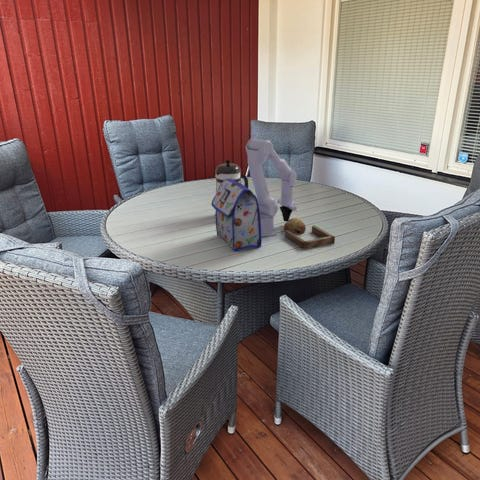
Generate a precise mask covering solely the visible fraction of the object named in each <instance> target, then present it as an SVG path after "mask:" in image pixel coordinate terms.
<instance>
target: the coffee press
mask: <svg viewBox="0 0 480 480" xmlns="http://www.w3.org/2000/svg"><path fill="white" fill-rule="evenodd" d="M241 173H242V169H241V167H240V166H239V165H238V164H236V163H232V162H231V159H226V160H225V163H221V164H219V165H217V166H216V168H215V174H214V175H215V176H214V177H215V189H216V193H217V191H218V189H219V186H220V184H221V183H222V181H224V180H225V179H233V180H234V181H235V182H239V183H241V184H242V180H241V179H243V181H244V186H245V187H246V188H248V189H249V179H248V176H247V175H245V174H241ZM216 193H215V194H216ZM214 216H215V217H216V212H215V213H214Z"/></svg>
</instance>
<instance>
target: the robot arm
mask: <svg viewBox="0 0 480 480" xmlns="http://www.w3.org/2000/svg"><path fill="white" fill-rule="evenodd" d="M245 151H246V152H245V153H246V155H247V166H248V170H249V174H250V176H251V177H250V178H251V181H252V183H253V187H254V191H255V194H256V195H255V196H256V198H257V201H258V205H259V210H260V220H261V238H264V237H265V238H266V237H270V236H276V235H277V234H278V233H277V232H276V231H274V221H275V220H274V219H275V218H274V217H275V216H276V215H277V213H278V211H279V209H280V212H281V215H282V219H283V221H284V222H287V221H288V220H290V217H291V214H292V212H295V211H297V206H296V205H295V201H294V188H295V187H294V186H295V185H296V181H297V176H298V174H297V172H296V171H295V170H294V169H291V168H292V167H291V166H290V165H289V164H288V163H287V161H286V159H284V158H280V156H279V155H278V154H277V152H276V151H275V149H274V144H273V143H272V142H271V141H270V140H269V139H268V140H267V139H259V138H254V137H252V138H250V139H248V141H247V143H246V145H245ZM267 159H269V161H270V162H271V163H272V164H273V166H272V167H273V169H274V171H276V172H277V174H278V178H279V179H280V181H281V187H280V188H281V189H280V190H281V191H280V193H281V194H280V198H278V199H277V202H275V199H274V198H273V197H272V196H271V195H270V192H269V189H268V185H267V181H266V178H265V174H264V169H263V166H262V164H264V163H265V161H266V160H267ZM278 204H280V205H281V206H278ZM278 208H279V209H278Z"/></svg>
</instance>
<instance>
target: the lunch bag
mask: <svg viewBox="0 0 480 480" xmlns="http://www.w3.org/2000/svg"><path fill="white" fill-rule="evenodd" d="M210 204H211V207H212V208H213V209H215V213H216V216H215V227H216V228H215V229H216V230H215V231H216V235H217V236H219V237H220V238H222V239H223V240H224V241H225V242H226V243H227V244H228V245H229V246H230V248H231V249H232V250H233V251H234V252H237V251H243V250H247V249H251V248H261V247H262V243H263V242H262V237H261V220H260V210H259V205H258V201H257V195H255V193H254V192H253V191H252V190H251V189H249V187H248V188H246V187H245V184H243V183H242V182H241V183H239V182H235V181H234V180H233V179H225V180H224V181H222V183H221V184H220V186H219V189H218V191H217V193H215V195H214V197H213V199H212V200H211V203H210Z"/></svg>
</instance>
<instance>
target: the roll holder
mask: <svg viewBox="0 0 480 480" xmlns="http://www.w3.org/2000/svg"><path fill="white" fill-rule="evenodd" d="M284 231H285V230H284ZM311 233H313V234H315V235H316V236H318V238H313V239H308V240H304V239H302V238H301V237H299V236H298V235H297V234H293V233H292V232H290V231H288V230H287V231H285V233H284V237H285V238H286V239H287V240H289V241H290V242H292V243H293V244H295V245H296V246H298V247H299V248H301V249H302V250H307V249H311V248H317V247H322V246H327V245H330V244H335V240H336V236H335V235H333V234H330V233H329V232H327V230H324V229H322V228H320V227H318V226H316V225H311Z"/></svg>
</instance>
